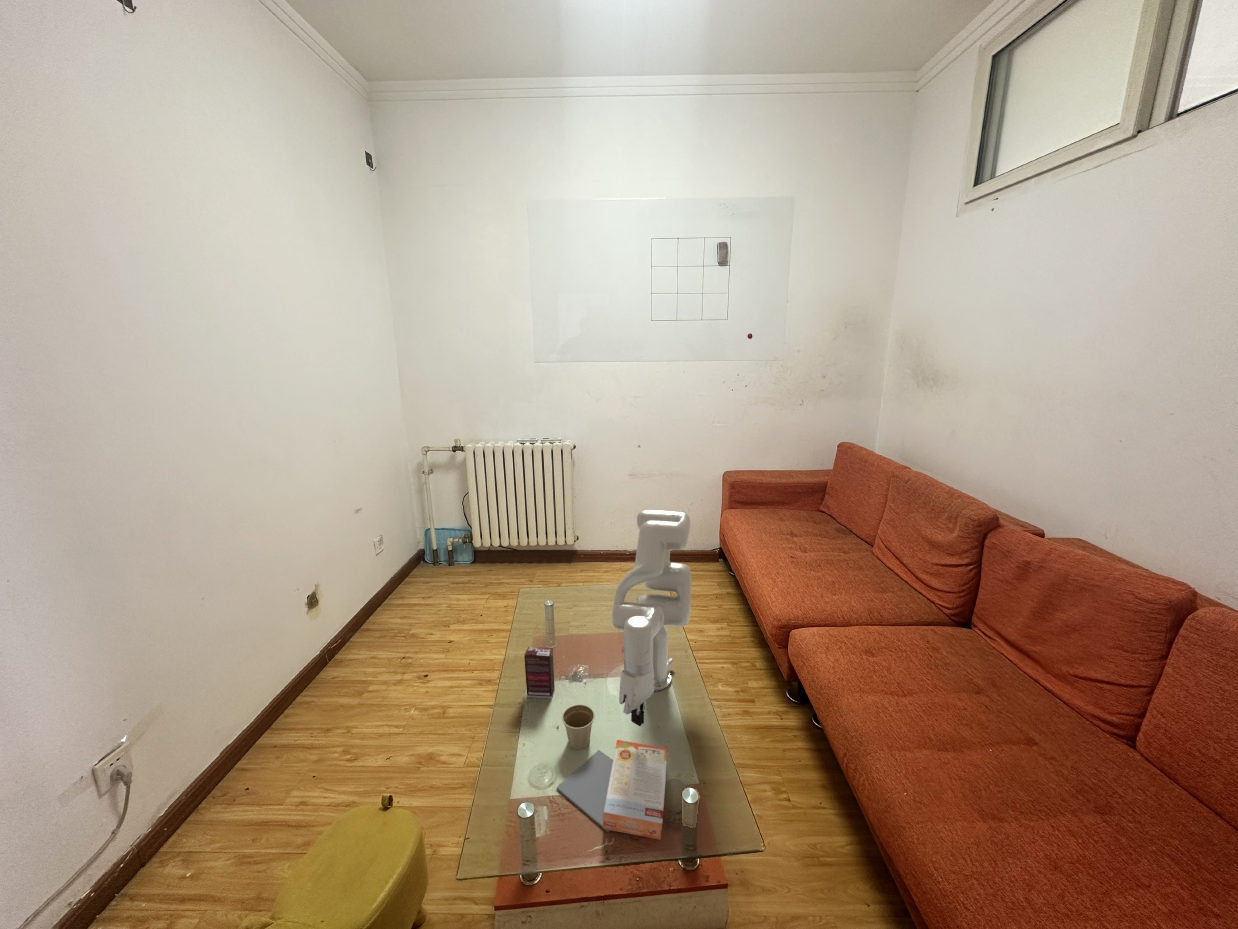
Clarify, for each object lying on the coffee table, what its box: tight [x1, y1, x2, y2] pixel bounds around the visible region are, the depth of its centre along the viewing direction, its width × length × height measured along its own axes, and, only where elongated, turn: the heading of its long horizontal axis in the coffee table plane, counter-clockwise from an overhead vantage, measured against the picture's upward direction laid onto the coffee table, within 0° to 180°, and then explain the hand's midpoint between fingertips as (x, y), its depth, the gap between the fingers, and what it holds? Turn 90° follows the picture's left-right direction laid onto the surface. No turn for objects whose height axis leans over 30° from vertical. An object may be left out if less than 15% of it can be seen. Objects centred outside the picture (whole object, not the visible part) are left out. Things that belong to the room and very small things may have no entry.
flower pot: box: [561, 704, 596, 750], centre depth 141 cm, size 9×9×9 cm
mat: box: [556, 749, 613, 833], centre depth 127 cm, size 16×18×1 cm
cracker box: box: [602, 739, 668, 841], centre depth 123 cm, size 14×6×21 cm
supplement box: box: [523, 646, 556, 699], centre depth 160 cm, size 9×5×16 cm, turn 85°
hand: (637, 722), depth 133 cm, fingers closed
